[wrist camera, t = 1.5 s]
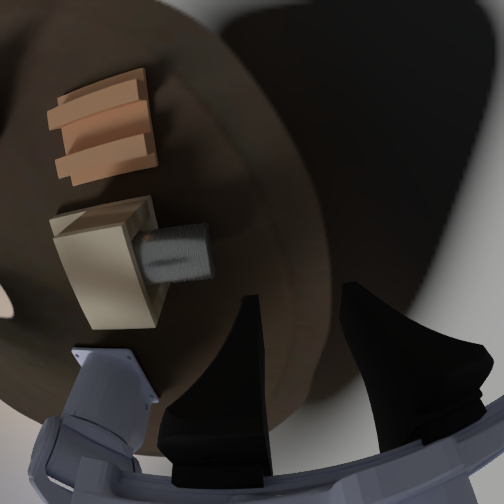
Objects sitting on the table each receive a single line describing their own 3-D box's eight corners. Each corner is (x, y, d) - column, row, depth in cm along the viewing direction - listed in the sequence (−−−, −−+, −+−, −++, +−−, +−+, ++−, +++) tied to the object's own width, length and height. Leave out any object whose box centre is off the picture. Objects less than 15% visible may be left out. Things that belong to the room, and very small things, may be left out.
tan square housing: (171, 279, 22) (155, 327, 17) (81, 287, 22) (53, 329, 17) (150, 194, 19) (121, 225, 14) (55, 215, 19) (14, 246, 14)
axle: (208, 214, 19) (202, 236, 16) (216, 261, 20) (213, 290, 17) (82, 233, 19) (60, 255, 16) (97, 274, 20) (78, 300, 17)
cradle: (158, 165, 18) (149, 171, 16) (76, 184, 18) (62, 192, 16) (145, 68, 15) (134, 64, 13) (61, 98, 15) (45, 98, 13)
